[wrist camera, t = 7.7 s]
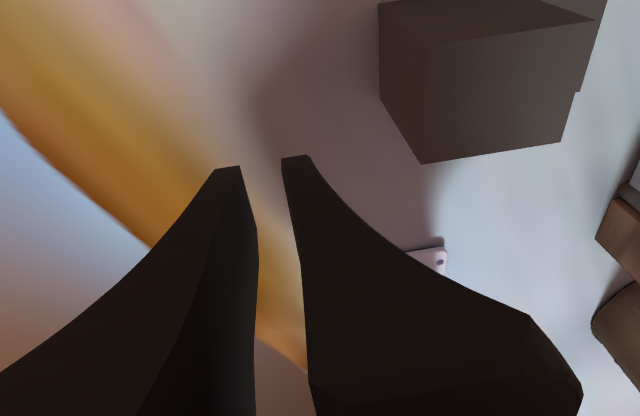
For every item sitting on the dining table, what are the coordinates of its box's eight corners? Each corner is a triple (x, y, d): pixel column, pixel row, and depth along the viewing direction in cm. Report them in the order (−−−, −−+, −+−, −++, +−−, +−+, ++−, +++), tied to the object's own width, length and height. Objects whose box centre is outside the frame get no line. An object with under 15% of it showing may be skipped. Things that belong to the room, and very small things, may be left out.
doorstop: (379, 97, 19) (420, 164, 14) (377, 3, 16) (427, 46, 11) (545, 71, 19) (642, 128, 14) (569, -25, 16) (696, 4, 12)
